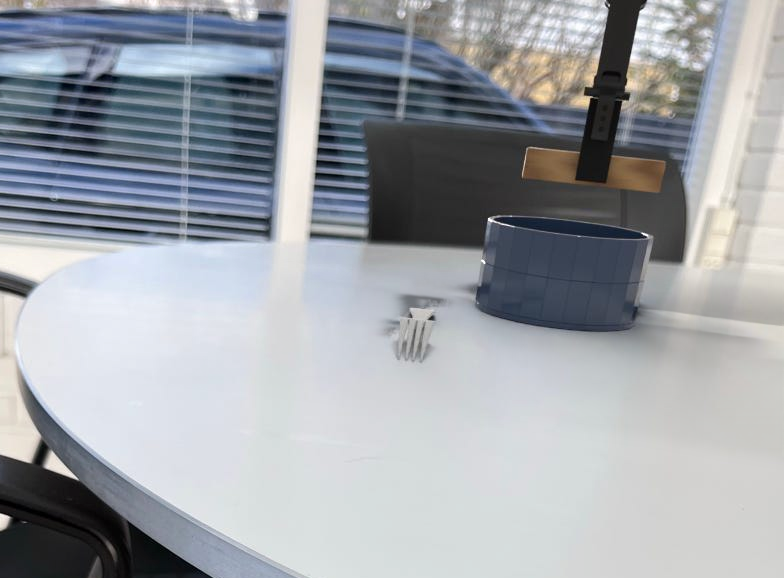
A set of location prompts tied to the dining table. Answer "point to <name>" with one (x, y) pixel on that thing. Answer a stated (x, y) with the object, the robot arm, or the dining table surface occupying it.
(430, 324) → the fork
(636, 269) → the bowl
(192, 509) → the dining table surface
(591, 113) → the robot arm
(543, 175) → the stick
